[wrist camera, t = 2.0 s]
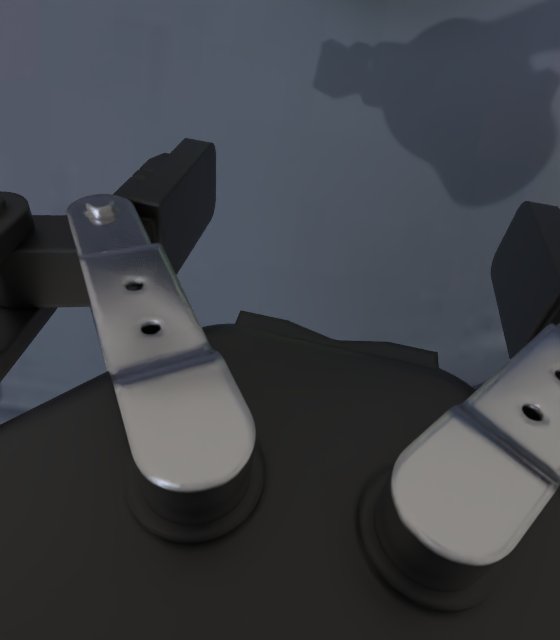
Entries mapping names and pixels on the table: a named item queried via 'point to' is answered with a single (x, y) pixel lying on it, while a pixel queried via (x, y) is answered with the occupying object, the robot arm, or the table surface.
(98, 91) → the table surface
